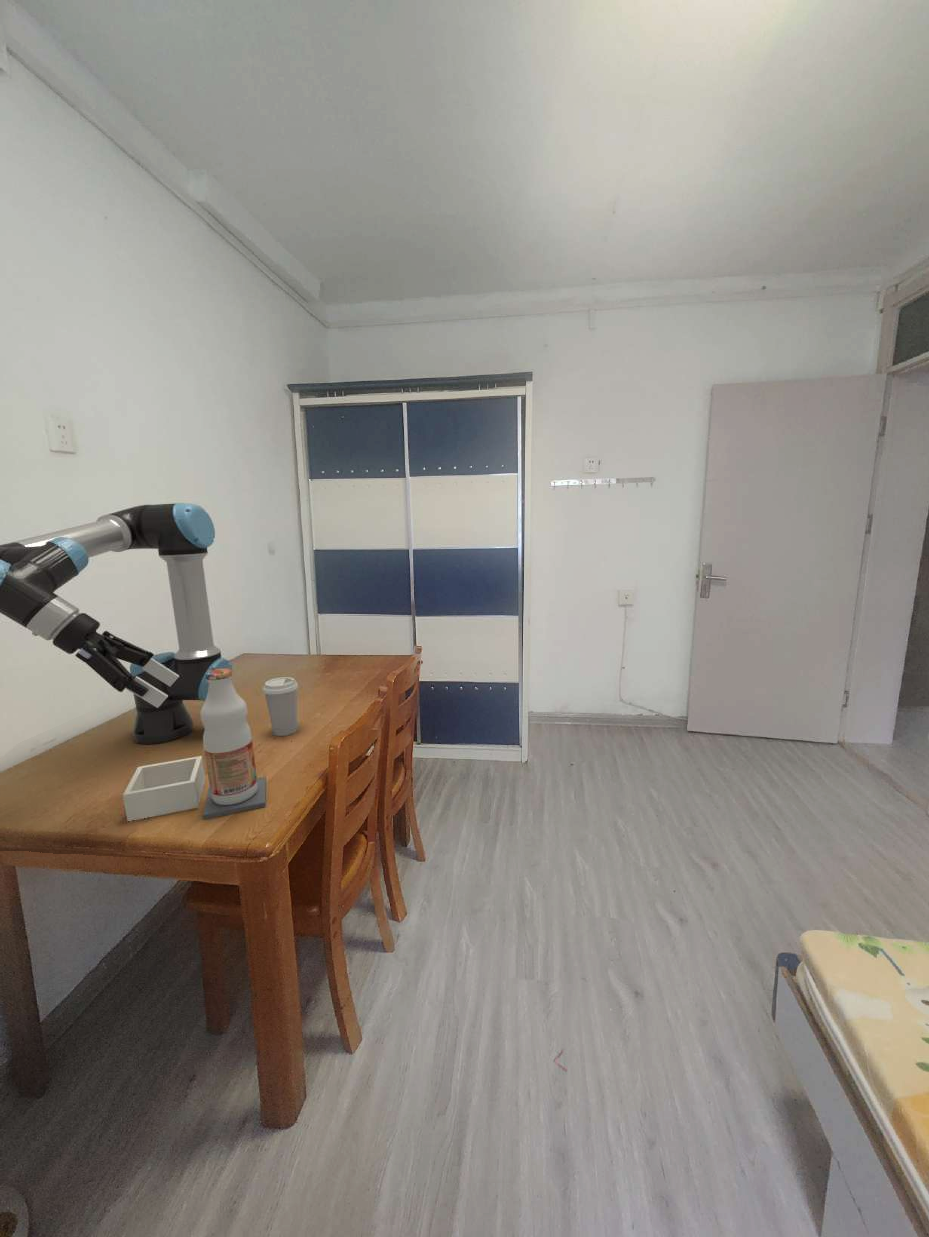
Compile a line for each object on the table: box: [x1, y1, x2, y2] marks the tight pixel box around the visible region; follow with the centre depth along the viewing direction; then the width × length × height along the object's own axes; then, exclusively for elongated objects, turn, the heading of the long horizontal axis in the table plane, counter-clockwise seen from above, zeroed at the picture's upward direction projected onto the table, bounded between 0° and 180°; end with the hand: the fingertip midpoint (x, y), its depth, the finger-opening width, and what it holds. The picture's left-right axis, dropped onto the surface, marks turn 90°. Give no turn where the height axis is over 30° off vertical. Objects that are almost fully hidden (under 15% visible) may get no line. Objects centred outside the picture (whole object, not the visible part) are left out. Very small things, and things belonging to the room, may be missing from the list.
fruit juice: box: [199, 669, 258, 805], centre depth 109 cm, size 9×9×28 cm
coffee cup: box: [262, 676, 299, 737], centre depth 146 cm, size 10×10×15 cm
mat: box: [201, 775, 267, 821], centre depth 112 cm, size 12×12×1 cm
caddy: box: [122, 755, 206, 822], centre depth 113 cm, size 13×13×6 cm
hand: (169, 691), depth 104 cm, fingers open, 13 cm apart
